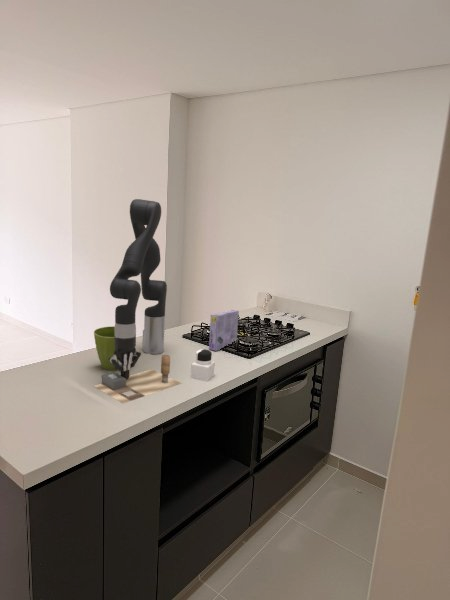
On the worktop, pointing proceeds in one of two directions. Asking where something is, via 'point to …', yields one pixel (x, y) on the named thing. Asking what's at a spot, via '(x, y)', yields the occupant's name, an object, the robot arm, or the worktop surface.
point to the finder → (113, 380)
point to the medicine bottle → (203, 365)
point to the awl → (165, 367)
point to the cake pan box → (223, 329)
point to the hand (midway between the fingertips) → (124, 379)
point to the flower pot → (105, 346)
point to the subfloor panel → (139, 386)
